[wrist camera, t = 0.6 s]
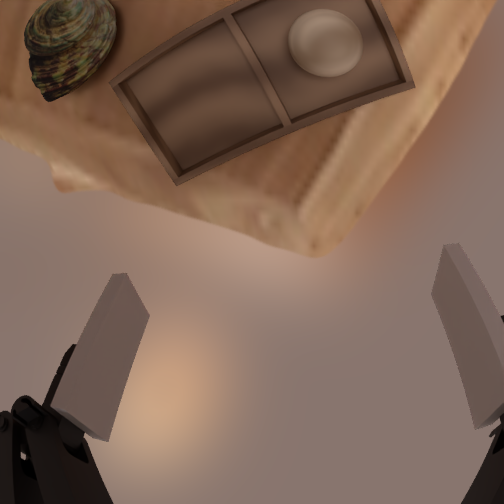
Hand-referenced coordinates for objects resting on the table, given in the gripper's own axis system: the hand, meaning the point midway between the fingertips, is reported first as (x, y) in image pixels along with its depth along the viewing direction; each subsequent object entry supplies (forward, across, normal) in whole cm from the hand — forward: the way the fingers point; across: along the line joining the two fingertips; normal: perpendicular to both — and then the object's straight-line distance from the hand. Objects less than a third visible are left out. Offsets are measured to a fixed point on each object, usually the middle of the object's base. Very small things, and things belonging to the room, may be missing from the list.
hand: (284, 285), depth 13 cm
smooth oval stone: (+24, +5, +8) cm, 25 cm away
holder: (+24, -1, +6) cm, 25 cm away
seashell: (+25, -19, +15) cm, 35 cm away
